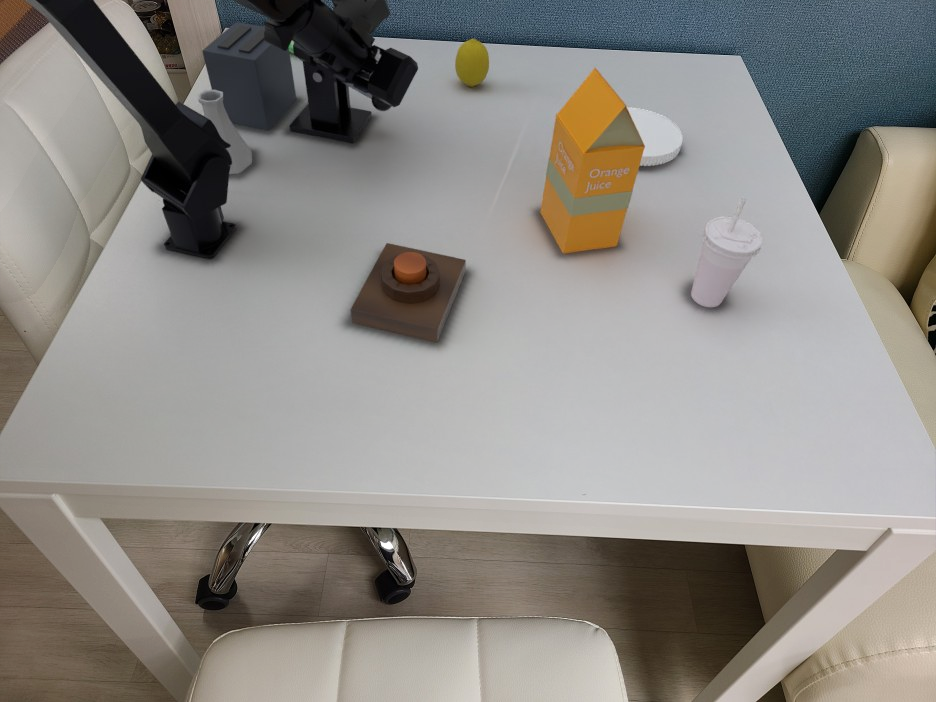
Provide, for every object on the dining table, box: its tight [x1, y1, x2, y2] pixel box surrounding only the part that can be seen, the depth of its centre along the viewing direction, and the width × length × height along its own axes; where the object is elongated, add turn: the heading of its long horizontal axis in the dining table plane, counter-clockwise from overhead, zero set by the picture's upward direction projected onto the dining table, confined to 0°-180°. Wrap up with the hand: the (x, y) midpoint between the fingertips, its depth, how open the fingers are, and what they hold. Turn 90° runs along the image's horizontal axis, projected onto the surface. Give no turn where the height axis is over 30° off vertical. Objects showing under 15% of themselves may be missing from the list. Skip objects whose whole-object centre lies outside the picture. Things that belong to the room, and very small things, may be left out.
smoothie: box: [690, 197, 764, 308], centre depth 76 cm, size 6×6×14 cm
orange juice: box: [539, 67, 645, 254], centre depth 81 cm, size 8×9×20 cm
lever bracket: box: [289, 58, 373, 144], centre depth 98 cm, size 10×8×11 cm
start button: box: [394, 252, 426, 285], centre depth 75 cm, size 4×4×2 cm
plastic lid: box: [626, 106, 684, 167], centre depth 102 cm, size 14×14×2 cm
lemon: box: [454, 38, 490, 88], centre depth 110 cm, size 6×6×8 cm
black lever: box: [314, 58, 393, 112], centre depth 96 cm, size 12×3×3 cm, turn 75°
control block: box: [350, 242, 467, 343], centre depth 77 cm, size 12×10×4 cm
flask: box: [197, 89, 253, 175], centre depth 91 cm, size 7×7×10 cm
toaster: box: [201, 21, 297, 132], centre depth 100 cm, size 10×8×11 cm
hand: (386, 86), depth 96 cm, fingers closed
